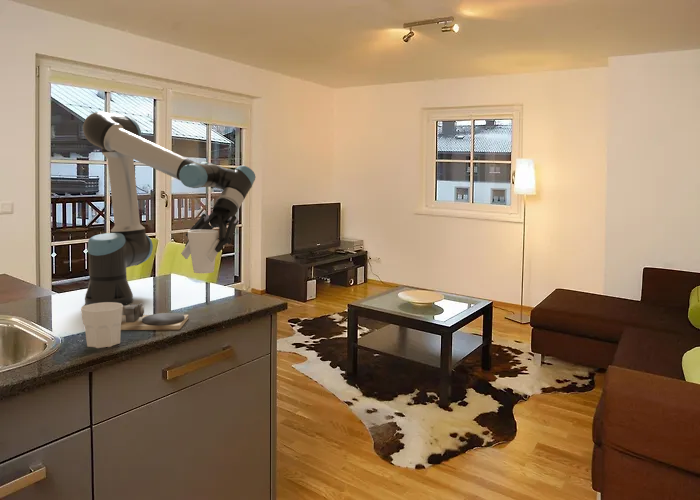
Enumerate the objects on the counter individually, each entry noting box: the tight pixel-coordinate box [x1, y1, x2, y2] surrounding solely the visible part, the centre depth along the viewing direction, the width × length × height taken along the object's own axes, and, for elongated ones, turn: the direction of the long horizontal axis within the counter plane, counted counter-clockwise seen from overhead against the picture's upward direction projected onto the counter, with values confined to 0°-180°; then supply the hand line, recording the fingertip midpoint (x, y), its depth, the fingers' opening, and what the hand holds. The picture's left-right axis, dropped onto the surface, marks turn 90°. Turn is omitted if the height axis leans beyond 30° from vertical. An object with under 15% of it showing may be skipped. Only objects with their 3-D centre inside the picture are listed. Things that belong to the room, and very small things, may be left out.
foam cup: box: [187, 229, 219, 274], centre depth 173 cm, size 10×9×13 cm
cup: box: [80, 302, 124, 349], centre depth 144 cm, size 10×10×10 cm
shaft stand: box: [121, 303, 189, 331], centre depth 163 cm, size 22×12×6 cm, turn 95°
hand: (196, 257), depth 171 cm, fingers closed on foam cup, 9 cm apart
